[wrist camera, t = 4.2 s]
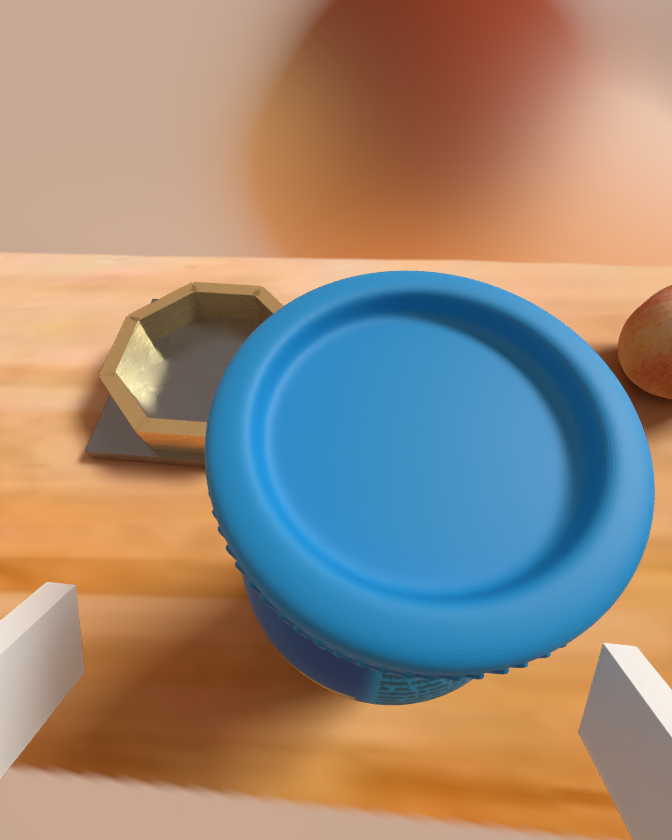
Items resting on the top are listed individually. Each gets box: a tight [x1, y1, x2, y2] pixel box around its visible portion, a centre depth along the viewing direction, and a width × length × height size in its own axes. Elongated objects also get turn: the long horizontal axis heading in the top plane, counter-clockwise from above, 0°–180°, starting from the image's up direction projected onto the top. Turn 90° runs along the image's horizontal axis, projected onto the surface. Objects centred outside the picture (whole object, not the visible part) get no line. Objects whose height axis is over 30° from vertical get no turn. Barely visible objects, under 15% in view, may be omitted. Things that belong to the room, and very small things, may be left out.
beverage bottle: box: [205, 271, 655, 705], centre depth 15 cm, size 8×8×20 cm
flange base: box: [85, 282, 283, 467], centre depth 29 cm, size 14×14×4 cm
